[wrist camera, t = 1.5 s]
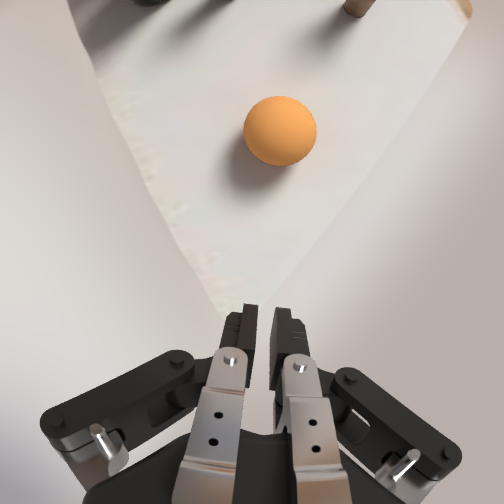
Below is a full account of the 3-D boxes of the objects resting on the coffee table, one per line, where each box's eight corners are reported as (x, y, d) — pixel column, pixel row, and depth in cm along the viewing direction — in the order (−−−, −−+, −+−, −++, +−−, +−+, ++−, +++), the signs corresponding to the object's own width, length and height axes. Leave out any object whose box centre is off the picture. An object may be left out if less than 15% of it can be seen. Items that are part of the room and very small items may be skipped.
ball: (250, 99, 24) (245, 85, 18) (314, 108, 23) (326, 96, 18) (243, 160, 26) (236, 162, 20) (306, 168, 26) (317, 173, 20)
